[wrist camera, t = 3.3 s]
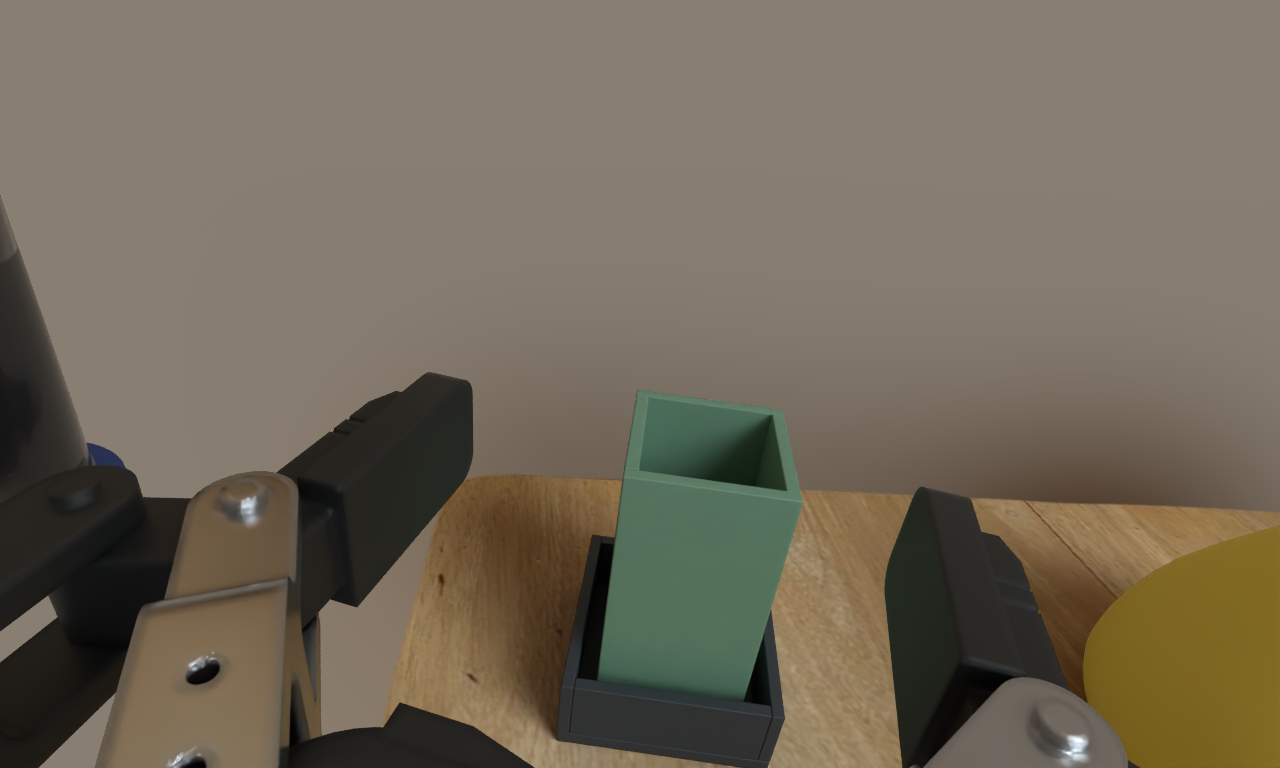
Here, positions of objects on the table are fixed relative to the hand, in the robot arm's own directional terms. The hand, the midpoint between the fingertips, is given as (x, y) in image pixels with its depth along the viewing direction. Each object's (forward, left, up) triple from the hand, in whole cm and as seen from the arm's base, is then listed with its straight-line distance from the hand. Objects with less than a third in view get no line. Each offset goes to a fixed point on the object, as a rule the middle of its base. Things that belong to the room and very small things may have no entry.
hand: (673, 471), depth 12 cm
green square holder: (+2, +11, -18) cm, 21 cm away
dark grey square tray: (+2, +11, -19) cm, 22 cm away
